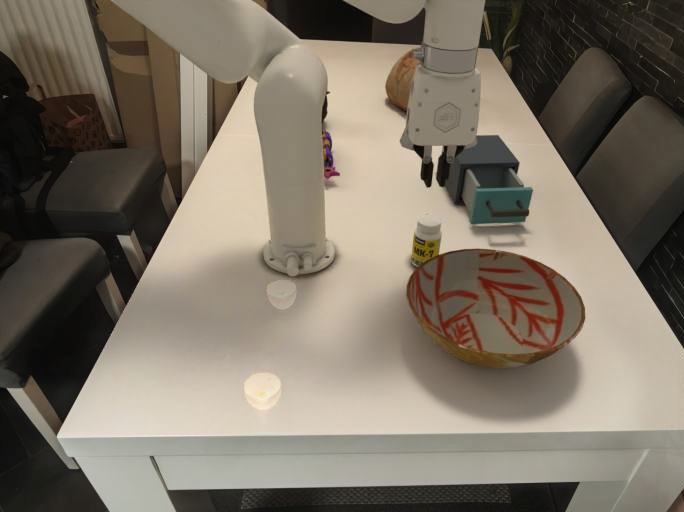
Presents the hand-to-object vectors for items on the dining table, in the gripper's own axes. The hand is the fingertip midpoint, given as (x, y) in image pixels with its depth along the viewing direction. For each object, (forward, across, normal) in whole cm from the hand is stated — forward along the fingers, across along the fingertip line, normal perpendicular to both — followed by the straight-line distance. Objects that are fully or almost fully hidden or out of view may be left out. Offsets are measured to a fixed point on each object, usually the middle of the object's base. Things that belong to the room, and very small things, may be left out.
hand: (433, 183), depth 88 cm
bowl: (+15, +5, -21) cm, 26 cm away
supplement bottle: (+15, 0, 0) cm, 15 cm away
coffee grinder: (+15, -18, +65) cm, 69 cm away
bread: (+15, +18, +79) cm, 82 cm away
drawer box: (+15, +17, +28) cm, 36 cm away
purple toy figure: (+15, -19, +42) cm, 49 cm away
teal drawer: (+14, +17, +15) cm, 27 cm away
